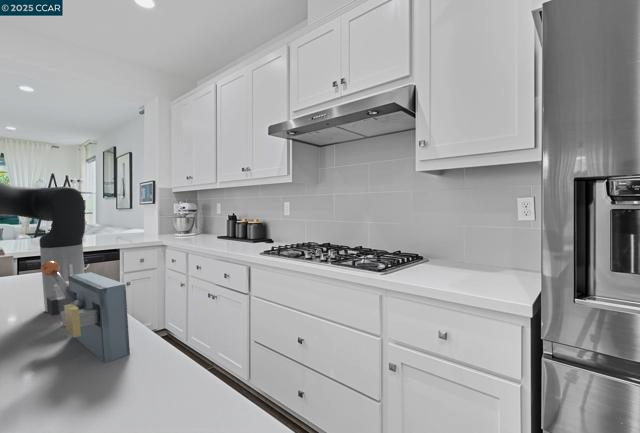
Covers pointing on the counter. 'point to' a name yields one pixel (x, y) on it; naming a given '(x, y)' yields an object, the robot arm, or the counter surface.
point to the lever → (61, 282)
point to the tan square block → (79, 318)
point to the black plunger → (56, 304)
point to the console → (103, 315)
